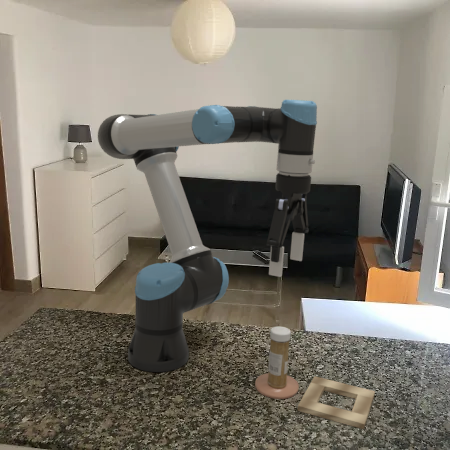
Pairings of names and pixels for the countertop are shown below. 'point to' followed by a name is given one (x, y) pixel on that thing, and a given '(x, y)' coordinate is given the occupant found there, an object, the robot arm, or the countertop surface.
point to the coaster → (276, 393)
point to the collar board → (332, 413)
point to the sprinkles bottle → (278, 357)
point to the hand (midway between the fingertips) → (286, 267)
